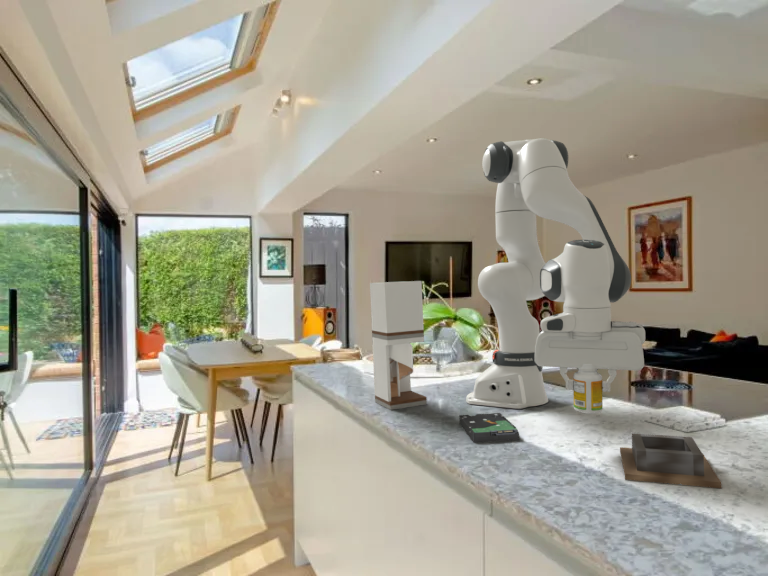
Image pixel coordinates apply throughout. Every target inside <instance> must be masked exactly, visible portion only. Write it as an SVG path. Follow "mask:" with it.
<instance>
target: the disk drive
mask: <svg viewBox="0 0 768 576" xmlns="http://www.w3.org/2000/svg"><path fill="white" fill-rule="evenodd" d="M458 419H459V426H460V427H461V428H462V429H463V430H464V432H465V433H466V435H467V436H468V437H469V439H470V440H471V442H472V443H474V444H477V443H478V444H479V443H493V442H505V441H506V442H508V441H519V440H520V432H519V431H518V428H517V426H515V425H514V424H513V423H512V422H511V421H510V420H509V419H507V418H506V417H505V416H504V415H503V414H501V413H500V412H495V413H494V412H492V413H476V414H474V415H469V414H459V417H458Z"/></svg>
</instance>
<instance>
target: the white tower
mask: <svg viewBox="0 0 768 576" xmlns="http://www.w3.org/2000/svg"><path fill="white" fill-rule="evenodd" d="M422 284H423V283H422V280H414V281H413V280H411V281H388V282H387V281H385V282H384V281H383V282H369V293H370V294H369V295H370V313H371V314H370V315H371V316H370V317H371V339H372V360H373V361H372V362H373V364H372V365H373V379H374V381H373V382H374V383H373V386H374V402H375V403H376V404H378V405H380V406H382V407H383V408H386V409H388V410H389V411H392V410H399V409H405V408H411V407H417V406H423V405H427V404H428V401H427V399H428V397H427V396H425V395H422V394H420V393H418V392H415V391H412V387H411V375H412V374H413V373H414V361H413V360H414V356H413V345H412V344H414V343H415V344H417V343H423V342H425V332H424V331H425V330H424V329H425V328H424V309H423V307H424V306H423V305H424V304H423V286H422Z"/></svg>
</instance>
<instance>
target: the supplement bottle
mask: <svg viewBox="0 0 768 576" xmlns="http://www.w3.org/2000/svg"><path fill="white" fill-rule="evenodd" d="M576 369H577V371H575V372H574V373H573V375H572V376H573V377H572V380H573V387H574V390H573V409H574V410H575V411H576V412H579V413H582V414H598V413H599V414H600V413H601V412H603V391H602V381H603V376H602V375H601V373H599V372H598V370H599V369H595V368H593V366H592V364H583V366H582V367H581V368H576Z"/></svg>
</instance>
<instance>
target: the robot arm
mask: <svg viewBox="0 0 768 576" xmlns="http://www.w3.org/2000/svg"><path fill="white" fill-rule="evenodd" d="M481 161H482V162H481V163H482V164H481V166H482V170H483V175H484V177H485V178H486V179H487V181H489V182H491V183H497V187H496V194H495V207H494V208H495V209H494V210H495V216H494V217H495V241H496V243H497V244H498V245H499V247H501V248H502V249H503V251H504V252H505V254H506V258H507V261H508V262H497V263H494V264H490V265H488V266H486V267H484V268H483V269H482V270H481V271H480V273H479V275H478V278H477V288H478V291H479V294H480V295H481V297H482V298H484V299H485V300H486V301H487V302H488V303H489V305H490V306H491V308H492V310H493V314H494V316H495V319H496V322H497V328H498V329H497V330H498V341H499V349H495V350H494V351H493V353H492V364H491V365H490V366H488V368H486V369H485V370H484V371H482V372H481V373H480V374H479V375H478V376H477V377H476V379H475V381H474V386H473V391H472V392H470V393H468V394H467V395H466V397H465V398H466V399H465V401H466V403H467V404H469V405H478V406H488V407H497V408H505V409H506V408H507V409H516V410H517V409H519V410H520V409H525V408H529V407H536V406H542V405H545V404H547V403H548V402H549V399H548V396H547V392H546V389H545V388H546V387H545V384H544V378H543V368H545V367H547V368H549V367H550V368H559V373H560V376H561V377H562V379H563V380H564V382H565V390H567V391H568V390H572V391H574V387H573V379H570V378H569V376H568V375H567V373H568V369H569V368H570V369H577V368H581V367H582V366H583V364H592V366H593V368H595V369H598V370H608V371H607V372H608V375H609V377H608V378H607V380H602V393H604V392H605V393H610V392H611V384H612V383H613V382H614V380H615V378H616V377H617V370H618V371H620V370H621V371H642V369H643V368H644V366H645V358H644V349H643V344H644V343H645V341H646V330H645V328H644V326H643V325H641V324H640V323H637V321H625V322H624V321H614V320H613V321H612V304H611V303H617V302H618V301H619V300H621V298H623V297H624V296H625V295H626V294H627V292H628V291H629V290H630V287H631V284H632V274H631V271H630V268H629V266H628V265H627V263H626V261H625V260H624V258H623V257H622V256H621V255H620V253H619V252H618V250H617V248H616V247H615V245H614V242H613V241H612V238H611V236H610V234H609V232H608V230H607V229H606V226H605V224H604V223H603V220H602V218H601V216H600V214H599V212H598V209H597V208H596V206H595V204H594V202H592V200H591V199H590V197H588V196H586V195H585V194H584V193H582V192H581V191H580V190H579V189H578V188H577V187H576V186H575V185H574V183H573V181H572V180H571V177H570V176H569V172H568V165H569V151H568V149H567V147H566V145H565V144H564V143H563V142H561V141H558V140H553V139H548V138H545V137H544V138H543V137H542V138H541V137H539V138H533V139H524V140H523V139H522V140H512V141H497V142H493V143H490V144H488V146H487V147H486V148H485V150H484V152H483V156H482V160H481ZM537 216H538V217H540V218H543V219H546V220H550V221H554V222H558V223H561V224H563V225H566V226H568V227H571V228H573V229H574V230H575V231H576V232H578V233H579V235H580V236H581V239H574V240H570V241H568V242H566V243H565V245H564V247H563V251H562V252H561V253H560V254H559V255H557V256H556V257H555V258H552V259H549V260H548V261H547V262H545V260H544V257H543V255H542V252H541V249H540V245H539V241H538V229H537V228H538V227H537V226H538V225H537ZM543 297H546V298H547V299H549V300H550V301H553V302H558V303H563V306H562V312H561V313H556V314H553V315H550V316H547V317H544V318H543V319H542V320H541V321H540V324H539V321H538V320H537V319H536V318H535V317H534V316H532V314H531V312H530V310H529V307H528V303H527V301H535V300H538V299H541V298H543ZM540 329H541V331H540Z"/></svg>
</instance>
